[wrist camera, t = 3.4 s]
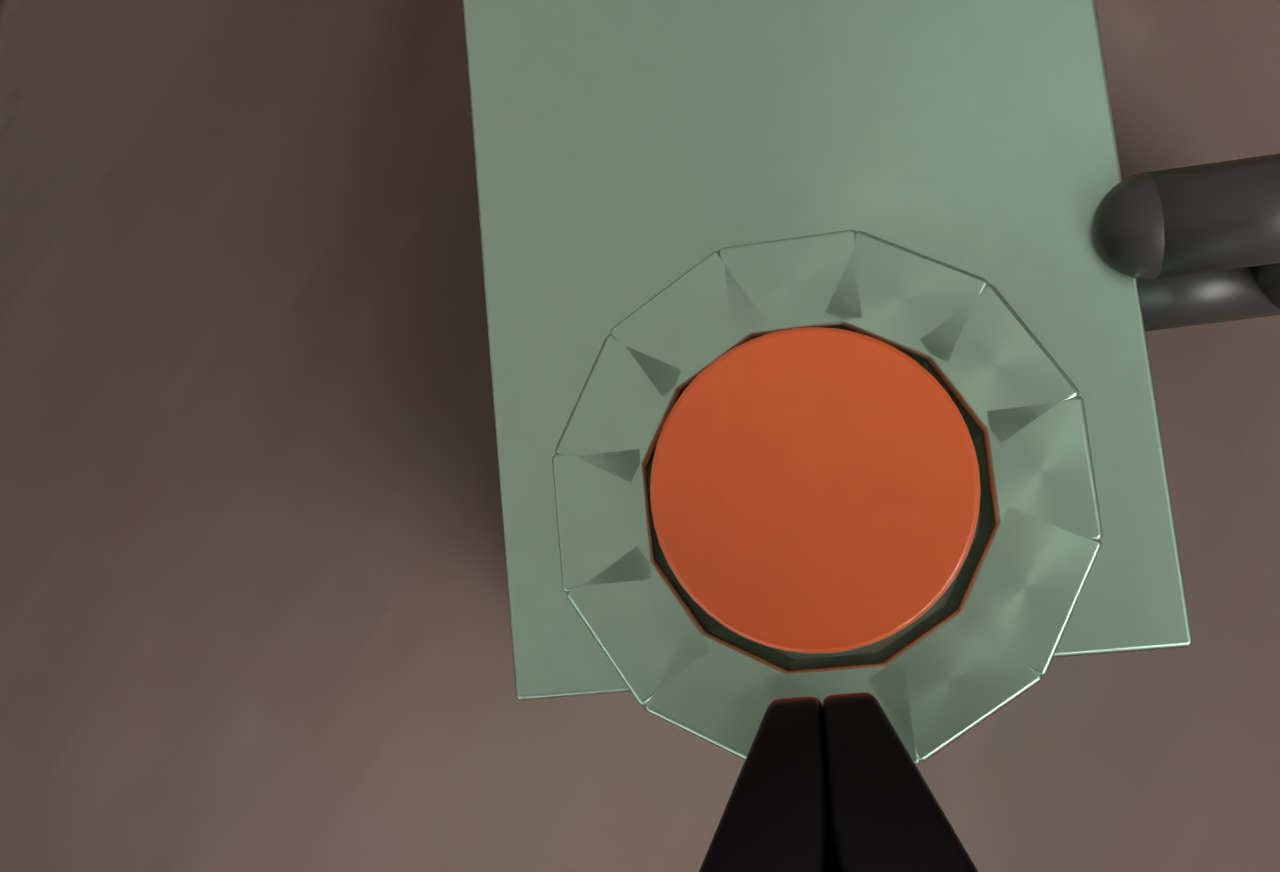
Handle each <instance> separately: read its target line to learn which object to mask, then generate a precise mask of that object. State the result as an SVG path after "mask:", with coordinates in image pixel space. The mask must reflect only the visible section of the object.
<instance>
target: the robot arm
mask: <svg viewBox="0 0 1280 872" xmlns="http://www.w3.org/2000/svg"><path fill="white" fill-rule="evenodd" d="M699 872H978V871H977V869H976V867H975V865H974V864H973V862H972V860H971V859H970V857H969V855H968V853H967V852H966V850H965V848H964V847H963V845H962V843H961V842H960V840H959V838H958V836H957V835H956V833H955V831H954V830H953V828H952V826H951V824H950V823H949V821H948V819H947V818H946V816H945V814H944V813H943V811H942V809H941V807H940V806H939V804H938V802H937V801H936V799H935V797H934V795H933V794H932V792H931V790H930V789H929V787H928V785H927V784H926V782H925V780H924V778H923V777H922V775H921V773H920V772H919V770H918V768H917V766H916V765H915V763H914V761H913V760H912V758H911V756H910V755H909V753H908V751H907V749H906V748H905V746H904V744H903V743H902V741H901V739H900V737H899V736H898V734H897V732H896V731H895V729H894V727H893V726H892V724H891V722H890V720H889V719H888V717H887V715H886V714H885V712H884V710H883V708H882V707H881V705H880V703H879V702H878V700H877V699H876V698H875V697H874V696H873V695H872V694H870V693H866V692H862V693H849V694H837V695H830V696H828V697H826V698H825V699H824V701H823V707H822V703H821V701H820V700H819V699H818V698H816V697H812V696H811V697H798V698H785V699H777V700H774V701H773V702H771V703H770V705H769V706H768V708H767V709H766V711H765V714H764V716H763V719H762V721H761V723H760V726H759V728H758V731H757V733H756V735H755V738H754V740H753V743H752V745H751V748H750V750H749V752H748V755H747V757H746V760H745V762H744V764H743V767H742V769H741V772H740V774H739V777H738V779H737V781H736V784H735V786H734V789H733V791H732V793H731V796H730V798H729V801H728V803H727V806H726V808H725V810H724V813H723V815H722V818H721V820H720V822H719V825H718V827H717V830H716V832H715V835H714V837H713V839H712V842H711V844H710V847H709V849H708V851H707V854H706V856H705V859H704V861H703V864H702V866H701V868H700V871H699Z"/></svg>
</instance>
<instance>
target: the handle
mask: <svg viewBox="0 0 1280 872" xmlns="http://www.w3.org/2000/svg"><path fill="white" fill-rule="evenodd" d="M1092 231H1093V238H1094V243H1095V245H1096V248H1097V250H1098V252H1099V254H1100V255H1101V256H1102V258H1103V259H1104V260H1105V262H1106V263H1108V264H1109V265H1110V266H1111V267H1112V268H1113V269H1115V270H1117V271H1118V272H1120V273H1122V274H1124V275H1127V276H1130V277H1133V278H1137V281H1138V287H1139V294H1140V300H1141V307H1142V314H1143V320H1144V327H1145V331H1150V330H1159V329H1167V328H1175V327H1183V326H1191V325H1200V324H1208V323H1216V322H1224V321H1232V320H1241V319H1249V318H1257V317H1265V316H1273V315H1280V154H1273V155H1266V156H1259V157H1252V158H1245V159H1238V160H1231V161H1224V162H1217V163H1210V164H1203V165H1196V166H1189V167H1182V168H1175V169H1168V170H1161V171H1154V172H1147V173H1143V174H1138V175H1134V176H1131V177H1129V178H1127V179H1125V180H1123V181H1121V182H1120V183H1118V184H1117V185H1115V186H1114V187H1113V188H1112V189H1111V190H1110V191H1109V192H1108V193H1107V194H1106V195H1105V196H1104V197H1103V199H1102V200H1101V202H1100V203H1099V205H1098V207H1097V210H1096V213H1095V215H1094V220H1093V227H1092Z"/></svg>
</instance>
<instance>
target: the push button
mask: <svg viewBox="0 0 1280 872" xmlns="http://www.w3.org/2000/svg"><path fill="white" fill-rule="evenodd" d="M980 494H981V489H980V473H979V466H978V461H977V456H976V451H975V447H974V444H973V441H972V438H971V436H970V433H969V430H968V427H967V425H966V423H965V421H964V419H963V417H962V415H961V413H960V411H959V409H958V408H957V406H956V405H955V403H954V402H953V400H952V399H951V397H950V396H949V394H948V393H947V392H946V390H945V389H944V388H943V387H942V386H941V385H940V384H939V382H938V381H937V380H936V379H935V378H934V377H933V376H932V375H931V374H930V373H929V372H928V371H927V370H926V369H924V368H923V367H922V366H921V365H920V364H919V363H917V362H916V361H915V360H914V359H912V358H911V357H909V356H908V355H906V354H904V353H903V352H901V351H900V350H898V349H897V348H895V347H893V346H891V345H888V344H886V343H884V342H882V341H880V340H878V339H875V338H872V337H869V336H866V335H863V334H860V333H857V332H852V331H847V330H842V329H837V328H823V327H806V328H792V329H787V330H782V331H777V332H772V333H769V334H766V335H763V336H760V337H757V338H754V339H751V340H749V341H747V342H745V343H743V344H741V345H739V346H737V347H735V348H733V349H731V350H730V351H728V352H727V353H725V354H724V355H722V356H720V357H719V358H717V359H716V360H715V361H713V362H712V363H711V364H710V365H709V366H708V367H706V368H705V369H704V370H703V371H702V372H700V373H699V374H698V376H697V377H696V378H695V379H694V380H693V381H692V382H691V383H690V384H689V385H688V386H687V388H686V389H685V390H684V392H683V393H682V394H681V396H680V397H679V399H678V400H677V402H676V403H675V404H674V406H673V408H672V410H671V412H670V414H669V415H668V417H667V419H666V421H665V423H664V425H663V428H662V431H661V433H660V436H659V439H658V441H657V445H656V449H655V453H654V458H653V462H652V470H651V480H650V497H651V510H652V516H653V522H654V527H655V530H656V534H657V537H658V541H659V544H660V547H661V549H662V551H663V554H664V556H665V558H666V560H667V563H668V565H669V567H670V568H671V570H672V571H673V573H674V575H675V576H676V578H677V580H678V581H679V583H680V584H681V586H682V587H683V588H684V589H685V591H686V592H687V593H688V594H689V595H690V597H691V598H692V599H693V600H694V601H695V602H696V603H697V604H698V605H699V606H700V607H701V608H702V609H703V610H704V611H705V612H706V613H707V614H708V615H710V616H711V617H712V618H714V619H715V620H716V621H718V622H719V623H720V624H722V625H723V626H725V627H726V628H728V629H730V630H731V631H733V632H735V633H737V634H739V635H740V636H742V637H744V638H746V639H749V640H751V641H754V642H756V643H759V644H761V645H764V646H767V647H771V648H775V649H779V650H783V651H789V652H798V653H806V654H819V653H835V652H842V651H849V650H854V649H857V648H860V647H864V646H867V645H871V644H874V643H876V642H878V641H881V640H883V639H885V638H887V637H890V636H892V635H894V634H896V633H897V632H899V631H900V630H902V629H904V628H905V627H907V626H909V625H910V624H912V623H913V622H914V621H916V620H917V619H918V618H919V617H921V616H922V615H923V614H924V613H925V612H927V611H928V610H929V609H930V608H931V607H932V606H933V605H934V604H935V603H936V602H937V601H938V599H939V598H940V597H941V596H942V595H943V594H944V593H945V592H946V590H947V589H948V587H949V586H950V584H951V583H952V582H953V580H954V579H955V577H956V576H957V574H958V572H959V570H960V569H961V567H962V565H963V563H964V561H965V559H966V557H967V555H968V552H969V549H970V546H971V544H972V541H973V538H974V535H975V531H976V526H977V521H978V517H979V508H980Z"/></svg>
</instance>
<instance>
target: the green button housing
mask: <svg viewBox="0 0 1280 872" xmlns="http://www.w3.org/2000/svg"><path fill="white" fill-rule="evenodd" d="M462 5H463V18H464V30H465V43H466V56H467V69H468V82H469V95H470V108H471V121H472V133H473V146H474V159H475V172H476V185H477V198H478V211H479V223H480V236H481V249H482V262H483V275H484V288H485V301H486V314H487V326H488V339H489V352H490V365H491V378H492V391H493V404H494V416H495V429H496V442H497V455H498V468H499V481H500V494H501V507H502V519H503V532H504V545H505V558H506V571H507V584H508V597H509V610H510V622H511V635H512V648H513V661H514V674H515V687H516V696H517V698H518V699H520V700H526V699H539V698H551V697H564V696H576V695H589V694H601V693H614V692H627V691H631V693H632V694H633V695H634V697H635V698H636V700H637V701H638V703H639V704H641V705H642V706H645V709H646V710H647V711H648V712H649V713H651V714H653V715H655V716H657V717H659V718H661V719H664V720H666V721H668V722H670V723H672V724H674V725H676V726H678V727H680V728H682V729H684V730H686V731H688V732H690V733H692V734H694V735H696V736H698V737H700V738H702V739H704V740H706V741H708V742H710V743H712V744H714V745H716V746H718V747H720V748H722V749H724V750H726V751H728V752H730V753H732V754H734V755H736V756H738V757H740V758H742V759H744V760H746V757H747V755H748V752H749V750H750V748H751V745H752V743H753V740H754V738H755V735H756V733H757V731H758V728H759V726H760V723H761V721H762V719H763V716H764V714H765V711H766V709H767V708H768V706H769V705H770V703H771V702H773V701H774V700H777V699H785V698H798V697H811V696H812V697H816V698H818V699H819V700H820V701H821V703H822V707H823V701H824V699H825V698H826V697H828V696H830V695H837V694H849V693H862V692H866V693H870V694H872V695H873V696H874V697H875V698H876V699H877V700H878V702H879V703H880V705H881V707H882V708H883V710H884V712H885V714H886V715H887V717H888V719H889V720H890V722H891V724H892V726H893V727H894V729H895V731H896V732H897V734H898V736H899V737H900V739H901V741H902V743H903V744H904V746H905V748H906V749H907V751H908V753H909V755H910V756H911V758H912V760H913V761H914V763H915V764H918V763H920V761H926V760H927V759H929V758H930V757H932V756H933V755H935V754H936V753H937V752H939V751H940V750H942V749H943V748H945V747H946V746H948V745H949V744H950V743H952V742H953V741H955V740H956V739H958V738H959V737H961V736H962V735H963V734H965V733H966V732H968V731H969V730H971V729H972V728H973V727H975V726H976V725H978V724H979V723H981V722H982V721H984V720H985V719H986V718H988V717H989V716H991V715H992V714H994V713H995V712H997V711H998V710H999V709H1001V708H1002V707H1004V706H1005V705H1007V704H1008V703H1009V702H1011V701H1012V700H1014V699H1015V698H1017V697H1018V696H1020V695H1021V694H1022V693H1024V692H1025V691H1027V690H1028V689H1030V688H1031V687H1032V686H1034V685H1035V684H1037V683H1038V682H1040V680H1041V678H1042V677H1041V676H1044V675H1045V674H1046V673H1047V671H1048V669H1049V666H1050V664H1051V662H1052V660H1053V657H1066V656H1078V655H1091V654H1104V653H1116V652H1129V651H1141V650H1154V649H1166V648H1179V647H1188V646H1190V645H1191V643H1192V637H1191V630H1190V624H1189V617H1188V611H1187V604H1186V597H1185V591H1184V584H1183V578H1182V571H1181V564H1180V558H1179V551H1178V545H1177V538H1176V531H1175V525H1174V518H1173V512H1172V505H1171V498H1170V492H1169V485H1168V479H1167V472H1166V465H1165V459H1164V452H1163V446H1162V439H1161V432H1160V426H1159V419H1158V413H1157V406H1156V399H1155V393H1154V386H1153V380H1152V373H1151V366H1150V360H1149V353H1148V347H1147V340H1146V333H1145V327H1144V320H1143V314H1142V307H1141V300H1140V294H1139V287H1138V281H1137V278H1133V277H1130V276H1127V275H1124V274H1122V273H1120V272H1118V271H1117V270H1115V269H1113V268H1112V267H1111V266H1110V265H1109V264H1108V263H1106V262H1105V260H1104V259H1103V258H1102V256H1101V255H1100V254H1099V252H1098V250H1097V248H1096V245H1095V243H1094V238H1093V231H1092V227H1093V220H1094V215H1095V213H1096V210H1097V207H1098V205H1099V203H1100V202H1101V200H1102V199H1103V197H1104V196H1105V195H1106V194H1107V193H1108V192H1109V191H1110V190H1111V189H1112V188H1113V187H1114V186H1115V185H1117V184H1118V183H1120V182H1121V181H1122V175H1121V168H1120V162H1119V155H1118V149H1117V142H1116V135H1115V129H1114V122H1113V116H1112V109H1111V102H1110V96H1109V89H1108V83H1107V76H1106V69H1105V63H1104V56H1103V50H1102V43H1101V36H1100V30H1099V23H1098V17H1097V10H1096V3H1095V0H462ZM806 327H823V328H837V329H842V330H847V331H852V332H857V333H860V334H863V335H866V336H869V337H872V338H875V339H878V340H880V341H882V342H884V343H886V344H888V345H891V346H893V347H895V348H897V349H898V350H900V351H901V352H903V353H904V354H906V355H908V356H909V357H911V358H912V359H914V360H915V361H916V362H917V363H919V364H920V365H921V366H922V367H923V368H924V369H926V370H927V371H928V372H929V373H930V374H931V375H932V376H933V377H934V378H935V379H936V380H937V381H938V382H939V384H940V385H941V386H942V387H943V388H944V389H945V390H946V392H947V393H948V394H949V396H950V397H951V399H952V400H953V402H954V403H955V405H956V406H957V408H958V409H959V411H960V413H961V415H962V417H963V419H964V421H965V423H966V425H967V427H968V430H969V433H970V436H971V438H972V441H973V444H974V447H975V451H976V456H977V461H978V466H979V473H980V489H981V494H980V508H979V517H978V521H977V526H976V531H975V535H974V538H973V541H972V544H971V546H970V549H969V552H968V555H967V557H966V559H965V561H964V563H963V565H962V567H961V569H960V570H959V572H958V574H957V576H956V577H955V579H954V580H953V582H952V583H951V584H950V586H949V587H948V589H947V590H946V592H945V593H944V594H943V595H942V596H941V597H940V598H939V599H938V601H937V602H936V603H935V604H934V605H933V606H932V607H931V608H930V609H929V610H928V611H927V612H925V613H924V614H923V615H922V616H921V617H919V618H918V619H917V620H916V621H914V622H913V623H912V624H910V625H909V626H907V627H905V628H904V629H902V630H900V631H899V632H897V633H896V634H894V635H892V636H890V637H887V638H885V639H883V640H881V641H878V642H876V643H874V644H871V645H867V646H864V647H860V648H857V649H854V650H849V651H842V652H835V653H819V654H806V653H798V652H789V651H783V650H779V649H775V648H771V647H767V646H764V645H761V644H759V643H756V642H754V641H751V640H749V639H746V638H744V637H742V636H740V635H739V634H737V633H735V632H733V631H731V630H730V629H728V628H726V627H725V626H723V625H722V624H720V623H719V622H718V621H716V620H715V619H714V618H712V617H711V616H710V615H708V614H707V613H706V612H705V611H704V610H703V609H702V608H701V607H700V606H699V605H698V604H697V603H696V602H695V601H694V600H693V599H692V598H691V597H690V595H689V594H688V593H687V592H686V591H685V589H684V588H683V587H682V586H681V584H680V583H679V581H678V580H677V578H676V576H675V575H674V573H673V571H672V570H671V568H670V567H669V565H668V563H667V560H666V558H665V556H664V554H663V551H662V549H661V547H660V544H659V541H658V537H657V534H656V530H655V527H654V522H653V516H652V510H651V497H650V480H651V470H652V462H653V458H654V453H655V449H656V445H657V441H658V439H659V436H660V433H661V431H662V428H663V425H664V423H665V421H666V419H667V417H668V415H669V414H670V412H671V410H672V408H673V406H674V404H675V403H676V402H677V400H678V399H679V397H680V396H681V394H682V393H683V392H684V390H685V389H686V388H687V386H688V385H689V384H690V383H691V382H692V381H693V380H694V379H695V378H696V377H697V376H698V374H699V373H700V372H702V371H703V370H704V369H705V368H706V367H708V366H709V365H710V364H711V363H712V362H713V361H715V360H716V359H717V358H719V357H720V356H722V355H724V354H725V353H727V352H728V351H730V350H731V349H733V348H735V347H737V346H739V345H741V344H743V343H745V342H747V341H749V340H751V339H754V338H757V337H760V336H763V335H766V334H769V333H772V332H777V331H782V330H787V329H792V328H806Z"/></svg>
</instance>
